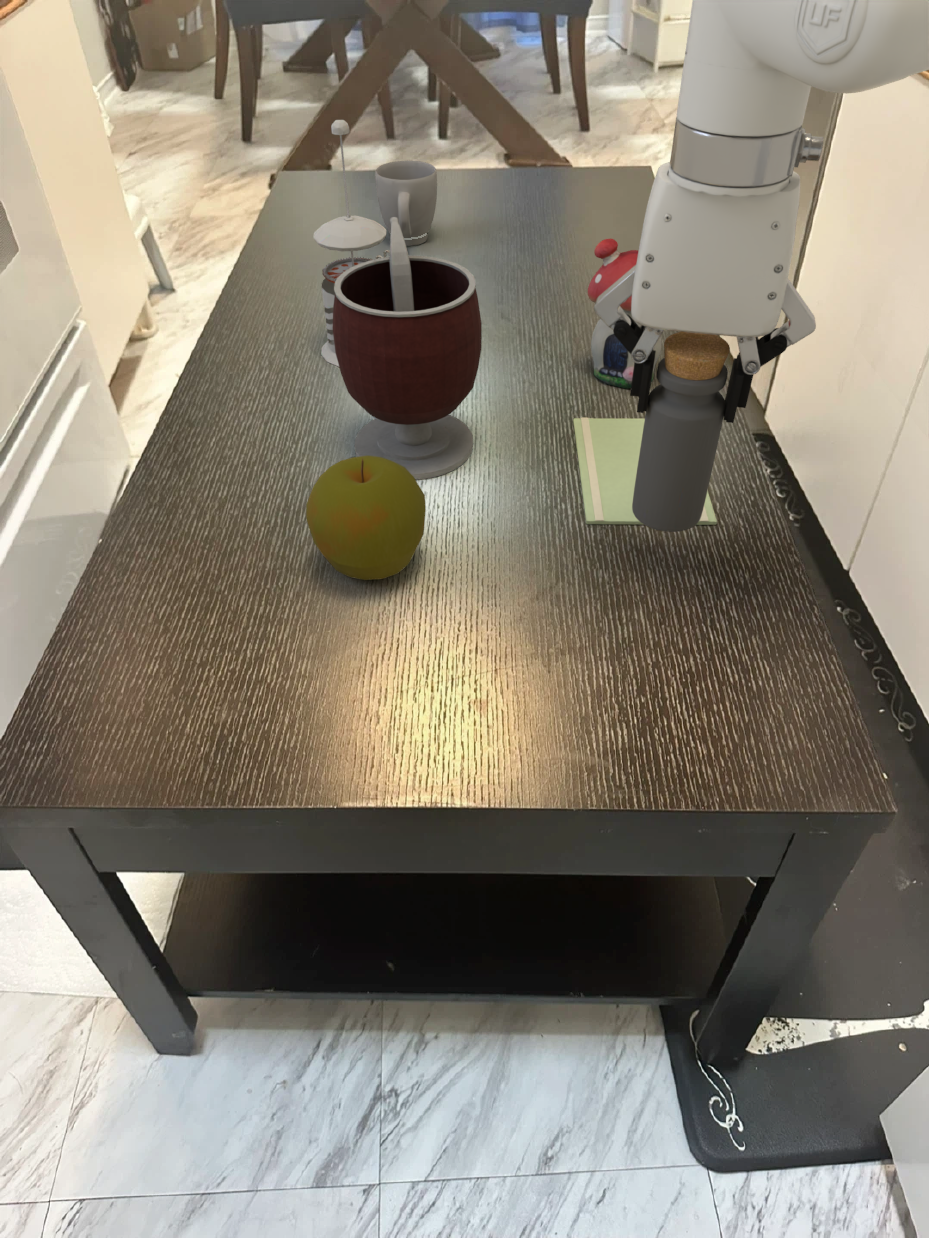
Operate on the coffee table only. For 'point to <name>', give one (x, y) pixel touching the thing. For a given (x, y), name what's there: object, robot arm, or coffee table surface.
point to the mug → (407, 196)
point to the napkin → (613, 469)
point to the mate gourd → (409, 355)
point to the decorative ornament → (605, 347)
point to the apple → (367, 517)
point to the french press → (343, 249)
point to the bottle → (681, 432)
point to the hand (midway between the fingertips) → (685, 406)
